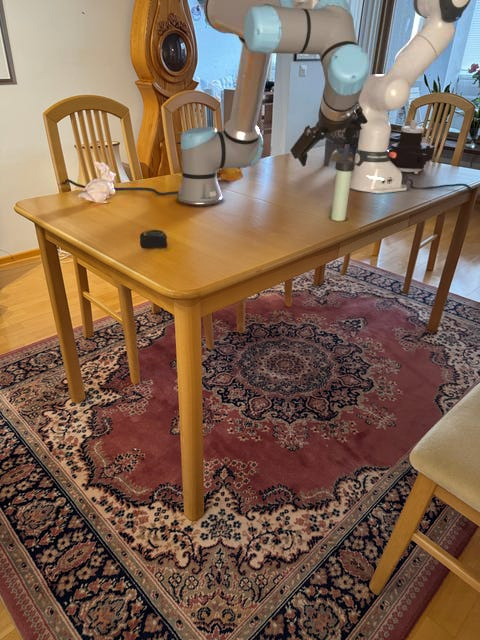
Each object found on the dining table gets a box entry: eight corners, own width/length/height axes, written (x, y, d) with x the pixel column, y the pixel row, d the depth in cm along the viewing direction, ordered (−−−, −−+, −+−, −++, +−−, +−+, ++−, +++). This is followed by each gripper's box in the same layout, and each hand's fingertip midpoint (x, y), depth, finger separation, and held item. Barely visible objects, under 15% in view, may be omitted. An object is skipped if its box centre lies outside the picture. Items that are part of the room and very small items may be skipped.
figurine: (124, 198, 157) (120, 160, 151) (89, 208, 146) (83, 167, 140) (108, 194, 161) (103, 157, 155) (73, 204, 150) (67, 164, 144)
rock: (349, 149, 251) (351, 136, 248) (362, 151, 245) (364, 138, 242) (334, 151, 243) (336, 138, 240) (347, 154, 238) (349, 141, 234)
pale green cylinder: (329, 216, 145) (335, 161, 136) (343, 216, 145) (350, 161, 136) (332, 220, 141) (339, 164, 132) (347, 220, 141) (355, 164, 132)
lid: (333, 167, 137) (333, 159, 136) (351, 167, 138) (352, 159, 137) (337, 171, 133) (338, 163, 131) (356, 171, 133) (357, 163, 132)
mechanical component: (380, 119, 194) (409, 114, 214) (372, 170, 205) (400, 161, 225) (430, 124, 182) (455, 119, 202) (419, 178, 193) (444, 167, 213)
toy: (211, 173, 177) (218, 164, 190) (217, 189, 180) (223, 179, 193) (237, 164, 174) (242, 156, 187) (243, 180, 177) (247, 171, 189)
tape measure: (140, 252, 115) (139, 238, 113) (141, 242, 120) (140, 229, 119) (167, 251, 116) (166, 237, 114) (167, 241, 121) (166, 228, 120)
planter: (313, 167, 208) (319, 103, 195) (331, 160, 222) (338, 101, 209) (353, 173, 199) (362, 107, 185) (369, 166, 213) (379, 104, 199)
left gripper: (294, 146, 99) (289, 183, 120) (396, 95, 99) (373, 140, 120) (278, 117, 100) (276, 159, 121) (380, 66, 99) (360, 116, 120)
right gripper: (331, -14, 132) (325, 41, 139) (306, -6, 149) (302, 43, 156) (310, -15, 131) (306, 41, 138) (287, -7, 148) (284, 42, 155)
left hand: (324, 150), depth 120 cm, fingers open, 13 cm apart
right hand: (304, 42), depth 147 cm, fingers open, 8 cm apart
